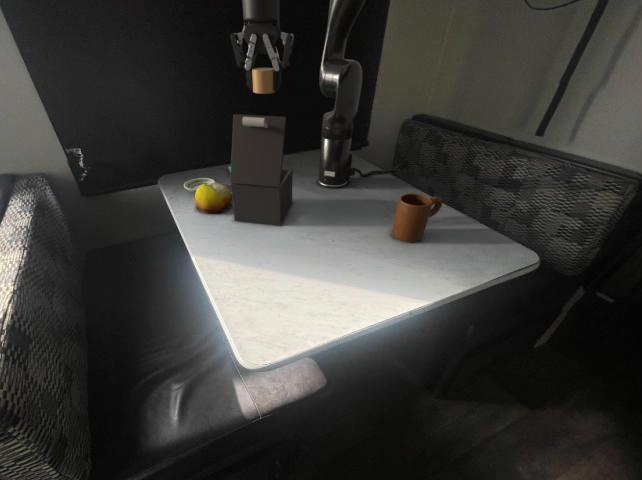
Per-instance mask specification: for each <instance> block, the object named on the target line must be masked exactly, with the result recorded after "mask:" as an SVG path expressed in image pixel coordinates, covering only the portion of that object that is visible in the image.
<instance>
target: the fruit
mask: <svg viewBox="0 0 642 480" xmlns="http://www.w3.org/2000/svg"><path fill="white" fill-rule="evenodd" d="M194 202H195V203H194V204H195V205H196V207H197V209H198V210H199V212H201V213H204V214H212V215H213V214H217V213H221V212H222V211H224V210H225V211H226V210H227V209H228V208H229V207H230V205H231V204H232V203H233V199H232V190H231V189H230V188H228V187H227V186H226V185H224V184H221V183H219V182H215V183H209V184H202V185H201V186H199V187H198V189H197V191H196V193H194Z"/></svg>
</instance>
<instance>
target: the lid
mask: <svg viewBox="0 0 642 480" xmlns="http://www.w3.org/2000/svg"><path fill="white" fill-rule="evenodd" d="M232 116H233V118H232V135H231V136H232V137H231V138H232V139H231V158H230V166H231V173H230V176H229V177H230V179H229V183H230V184H232V183H235V184H246V185H257V186H268V187H279V188H280V184H281V172H282V168H283V159H284V148H285V136H286V124H287V117H286V116H277V115H276V116H275V115H258V114H240V113H239V114H237V113H233V115H232Z"/></svg>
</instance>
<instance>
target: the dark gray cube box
mask: <svg viewBox="0 0 642 480" xmlns="http://www.w3.org/2000/svg"><path fill="white" fill-rule="evenodd" d="M230 191H231V194H232V207H233V216H234V221H235V222H242V223H243V222H244V223H252V224H261V225H271V226H279V227H281V226H282V224H283V221H284V220H285V218H286V215H287V214H288V212H289V210H290V208H291V206H292V205H293V168H283V167H282V172H281V184H280V188H279V187H268V186H257V185H246V184H235V183H230Z"/></svg>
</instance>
